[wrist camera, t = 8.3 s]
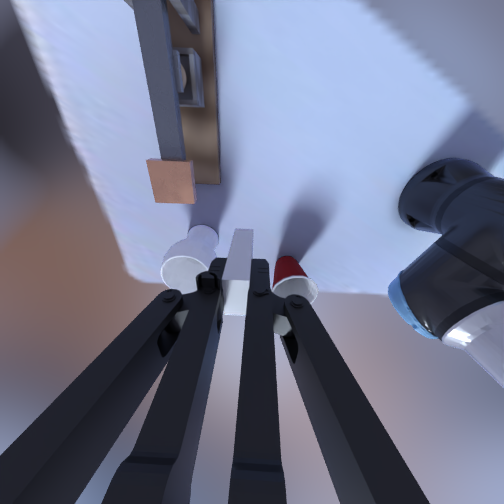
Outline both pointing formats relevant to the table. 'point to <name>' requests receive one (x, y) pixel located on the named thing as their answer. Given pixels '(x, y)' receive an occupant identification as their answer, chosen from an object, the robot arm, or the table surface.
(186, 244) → the cup
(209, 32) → the press base
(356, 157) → the table surface
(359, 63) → the table surface
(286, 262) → the plastic cup
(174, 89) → the lever
